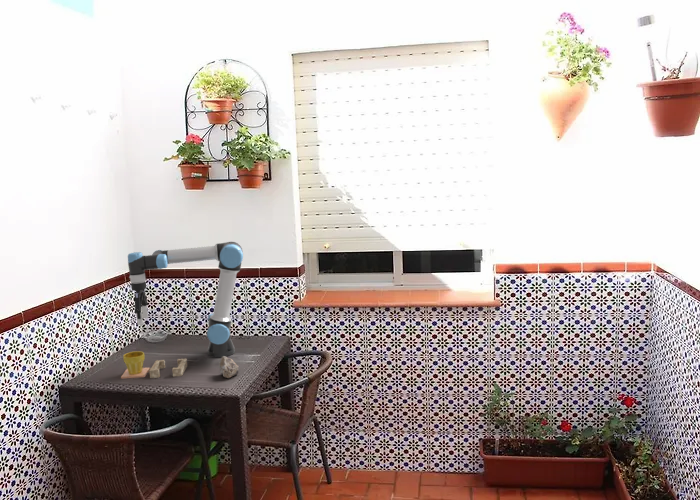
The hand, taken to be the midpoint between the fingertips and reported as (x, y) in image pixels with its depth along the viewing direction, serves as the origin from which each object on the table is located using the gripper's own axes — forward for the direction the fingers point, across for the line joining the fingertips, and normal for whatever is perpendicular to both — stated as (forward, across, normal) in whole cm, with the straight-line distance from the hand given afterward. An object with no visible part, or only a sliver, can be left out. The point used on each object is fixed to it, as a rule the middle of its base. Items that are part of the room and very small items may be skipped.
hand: (143, 321), depth 348 cm
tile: (+25, +9, -5) cm, 27 cm away
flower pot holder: (+26, +10, +12) cm, 30 cm away
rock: (+27, +24, +44) cm, 56 cm away
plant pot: (+25, +9, -5) cm, 27 cm away
